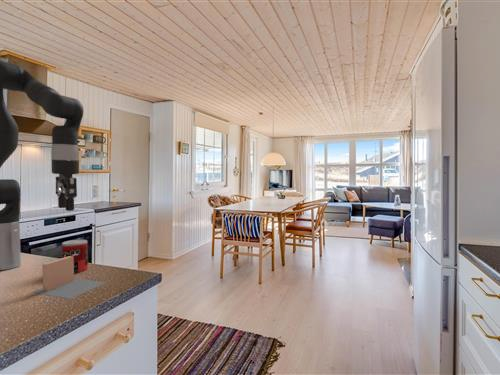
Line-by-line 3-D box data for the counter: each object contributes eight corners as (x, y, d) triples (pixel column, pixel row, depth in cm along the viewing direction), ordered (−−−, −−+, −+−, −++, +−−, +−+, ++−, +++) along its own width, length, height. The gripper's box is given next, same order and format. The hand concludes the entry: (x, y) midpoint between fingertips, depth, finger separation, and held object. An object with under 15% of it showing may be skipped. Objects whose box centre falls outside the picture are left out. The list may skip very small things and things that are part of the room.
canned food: (57, 274, 104) (56, 243, 104) (77, 267, 112) (76, 238, 111) (73, 276, 102) (73, 245, 101) (92, 269, 109) (92, 240, 109)
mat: (31, 294, 87) (31, 292, 87) (70, 279, 99) (70, 277, 99) (70, 300, 82) (70, 298, 82) (106, 284, 95) (106, 282, 95)
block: (43, 290, 88) (42, 263, 88) (69, 280, 97) (69, 256, 96) (47, 291, 87) (46, 264, 87) (74, 280, 96) (73, 256, 96)
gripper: (46, 158, 98) (47, 207, 98) (57, 158, 88) (58, 212, 89) (71, 159, 103) (72, 206, 104) (85, 159, 93) (85, 210, 94)
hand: (66, 209), depth 96 cm, fingers open, 8 cm apart
